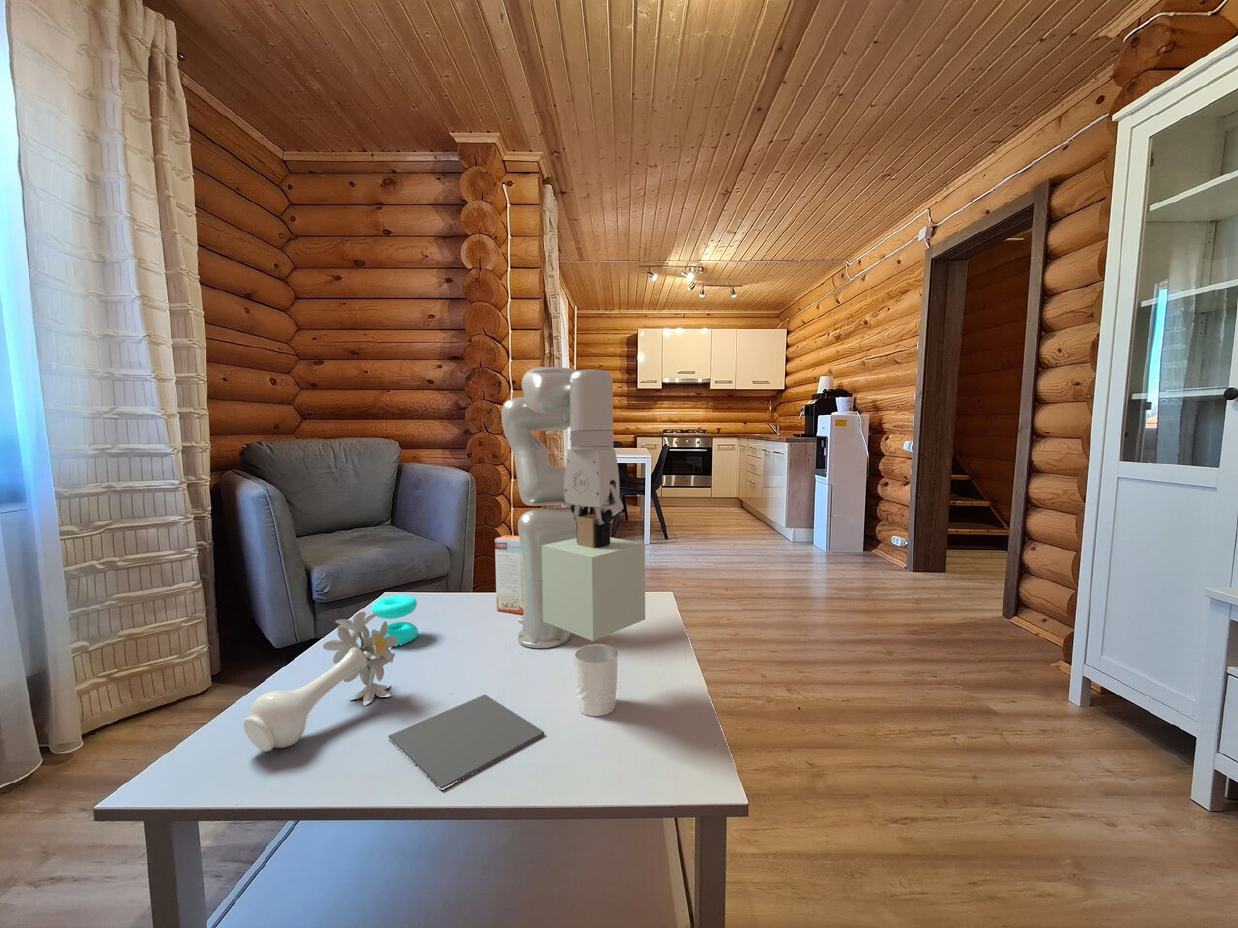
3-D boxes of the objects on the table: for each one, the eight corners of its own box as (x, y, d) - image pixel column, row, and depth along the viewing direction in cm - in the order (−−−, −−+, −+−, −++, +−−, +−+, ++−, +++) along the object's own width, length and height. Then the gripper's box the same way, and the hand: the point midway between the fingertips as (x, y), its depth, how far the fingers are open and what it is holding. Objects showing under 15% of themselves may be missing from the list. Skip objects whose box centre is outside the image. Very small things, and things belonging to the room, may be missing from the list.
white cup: (613, 720, 88) (612, 664, 88) (569, 716, 90) (568, 660, 89) (622, 697, 96) (621, 645, 95) (581, 693, 98) (580, 642, 97)
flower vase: (295, 797, 80) (413, 686, 102) (272, 708, 73) (404, 610, 95) (240, 763, 85) (365, 665, 106) (214, 677, 78) (353, 591, 100)
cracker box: (549, 610, 144) (548, 537, 142) (537, 618, 138) (535, 541, 137) (509, 604, 150) (507, 533, 148) (495, 611, 144) (493, 537, 143)
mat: (388, 739, 84) (388, 735, 84) (485, 697, 97) (485, 694, 97) (441, 791, 71) (441, 787, 71) (544, 735, 84) (544, 731, 84)
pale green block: (543, 621, 92) (541, 517, 91) (595, 603, 101) (594, 509, 100) (593, 641, 83) (591, 526, 82) (645, 619, 92) (644, 516, 91)
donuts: (413, 591, 130) (419, 602, 122) (414, 629, 131) (421, 643, 122) (369, 598, 125) (373, 609, 117) (371, 637, 126) (375, 652, 117)
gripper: (545, 441, 93) (547, 540, 94) (610, 442, 82) (612, 555, 83) (576, 440, 98) (577, 534, 100) (641, 441, 87) (642, 547, 88)
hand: (593, 542), depth 91 cm, fingers closed on pale green block, 4 cm apart
